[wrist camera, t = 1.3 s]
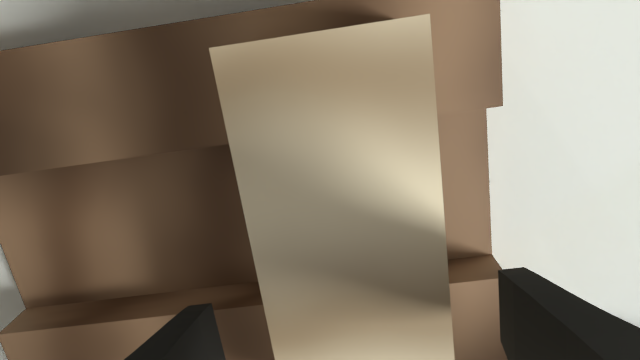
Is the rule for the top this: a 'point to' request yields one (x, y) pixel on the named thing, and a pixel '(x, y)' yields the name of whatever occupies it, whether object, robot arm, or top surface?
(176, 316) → the robot arm
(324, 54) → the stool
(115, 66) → the board
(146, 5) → the top surface
